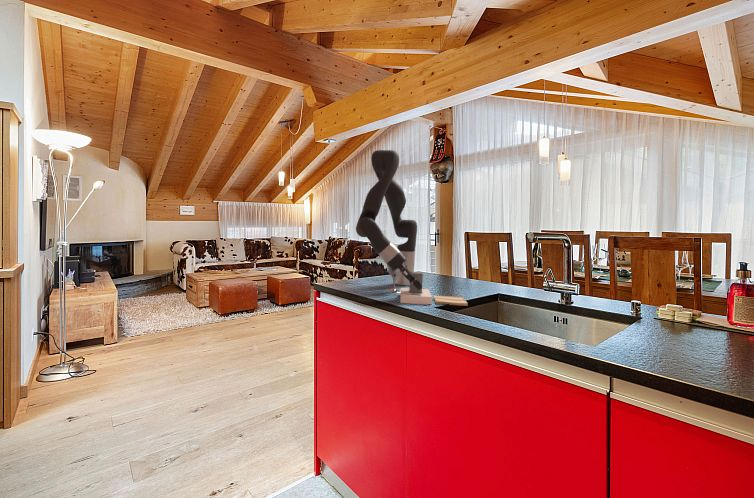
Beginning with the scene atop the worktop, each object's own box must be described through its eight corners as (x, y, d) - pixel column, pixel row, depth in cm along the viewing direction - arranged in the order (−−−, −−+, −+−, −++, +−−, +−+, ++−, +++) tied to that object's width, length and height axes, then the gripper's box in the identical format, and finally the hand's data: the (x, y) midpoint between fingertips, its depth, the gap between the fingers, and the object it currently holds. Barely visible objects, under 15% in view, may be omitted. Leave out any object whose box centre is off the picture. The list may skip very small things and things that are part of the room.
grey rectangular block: (408, 298, 155) (410, 271, 154) (420, 298, 155) (422, 272, 154) (409, 300, 151) (410, 273, 150) (421, 300, 151) (422, 273, 150)
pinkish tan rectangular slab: (400, 294, 162) (400, 287, 162) (428, 296, 161) (428, 288, 161) (400, 302, 144) (400, 294, 144) (431, 304, 143) (431, 296, 143)
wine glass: (382, 290, 171) (383, 257, 170) (397, 289, 175) (399, 257, 174) (390, 293, 164) (391, 259, 163) (405, 292, 167) (407, 259, 166)
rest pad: (433, 297, 158) (433, 295, 158) (462, 299, 157) (462, 297, 157) (436, 304, 145) (436, 301, 145) (467, 305, 144) (467, 303, 144)
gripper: (399, 251, 145) (428, 284, 145) (399, 249, 159) (426, 279, 159) (384, 264, 146) (414, 296, 146) (386, 261, 160) (413, 290, 160)
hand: (420, 287), depth 152 cm, fingers open, 4 cm apart
